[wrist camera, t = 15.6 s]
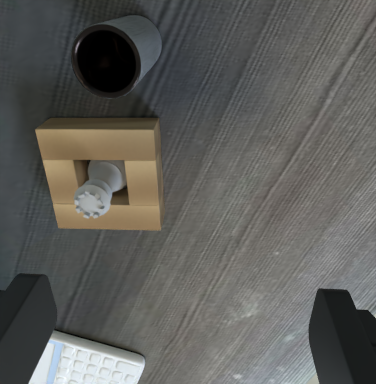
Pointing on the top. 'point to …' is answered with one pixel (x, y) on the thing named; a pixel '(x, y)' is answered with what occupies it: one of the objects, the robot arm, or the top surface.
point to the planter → (115, 55)
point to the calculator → (85, 363)
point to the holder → (105, 150)
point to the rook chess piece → (100, 187)
